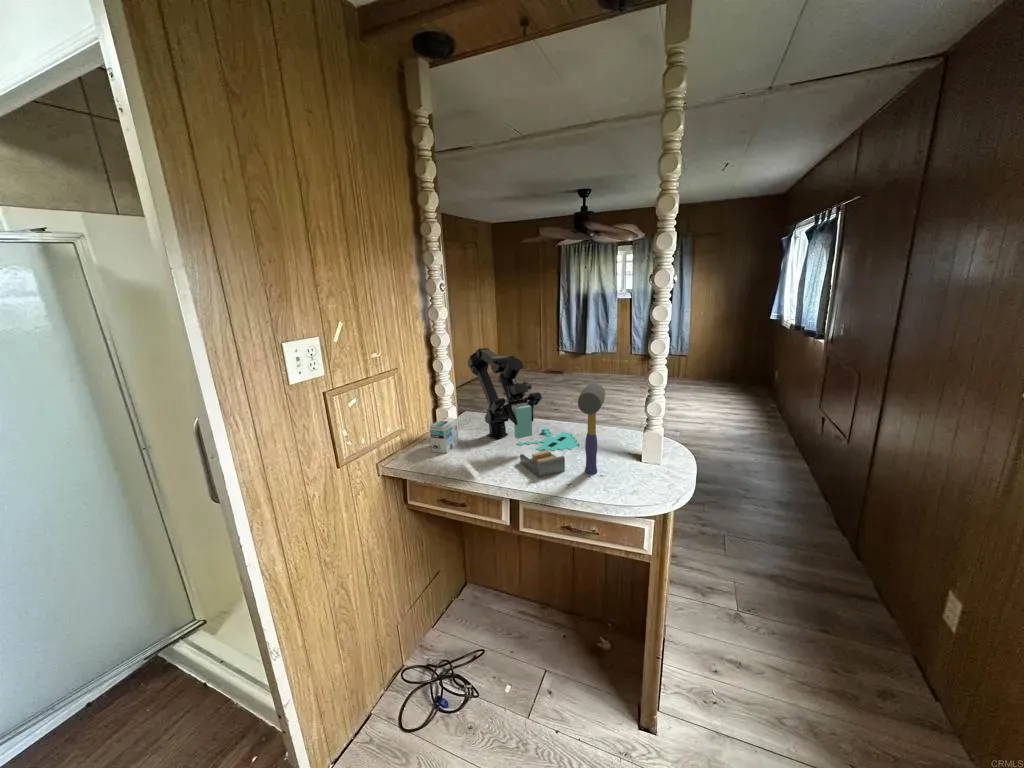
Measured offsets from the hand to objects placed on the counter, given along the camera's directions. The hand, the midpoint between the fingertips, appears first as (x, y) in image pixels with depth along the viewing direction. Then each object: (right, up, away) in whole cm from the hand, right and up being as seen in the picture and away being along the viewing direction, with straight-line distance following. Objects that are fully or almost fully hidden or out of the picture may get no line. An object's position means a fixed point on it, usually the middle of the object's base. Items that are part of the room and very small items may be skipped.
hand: (524, 422), depth 139 cm
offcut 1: (+6, -14, -7) cm, 17 cm away
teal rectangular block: (0, -5, +3) cm, 6 cm away
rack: (+5, -15, -6) cm, 17 cm away
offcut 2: (+7, -15, -10) cm, 19 cm away
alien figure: (+11, -11, +14) cm, 21 cm away
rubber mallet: (+21, -16, -12) cm, 29 cm away
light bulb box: (-31, -11, +16) cm, 36 cm away
